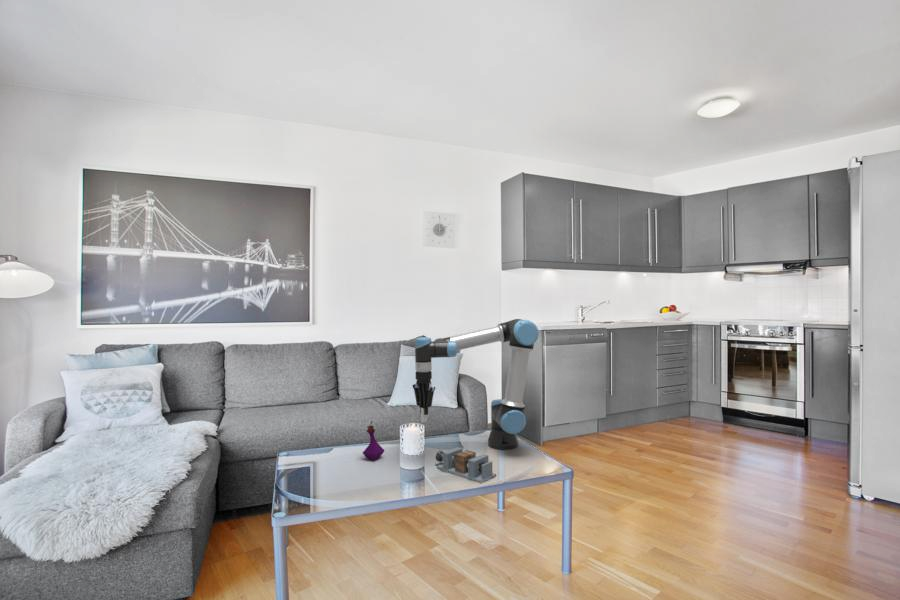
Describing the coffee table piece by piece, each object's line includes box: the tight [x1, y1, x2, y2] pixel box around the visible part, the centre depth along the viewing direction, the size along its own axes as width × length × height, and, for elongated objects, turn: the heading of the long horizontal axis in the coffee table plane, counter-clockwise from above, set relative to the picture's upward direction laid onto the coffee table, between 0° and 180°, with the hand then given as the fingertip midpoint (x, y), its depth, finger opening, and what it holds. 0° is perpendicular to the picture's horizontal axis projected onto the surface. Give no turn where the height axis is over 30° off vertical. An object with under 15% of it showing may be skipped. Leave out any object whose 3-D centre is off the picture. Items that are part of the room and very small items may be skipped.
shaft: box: [435, 450, 481, 472], centre depth 205 cm, size 5×23×5 cm, turn 48°
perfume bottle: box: [362, 419, 385, 461], centre depth 220 cm, size 8×8×18 cm
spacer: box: [455, 449, 477, 474], centre depth 202 cm, size 8×5×7 cm, turn 138°
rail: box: [436, 446, 497, 484], centre depth 202 cm, size 10×25×8 cm, turn 48°
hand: (424, 421), depth 219 cm, fingers closed
